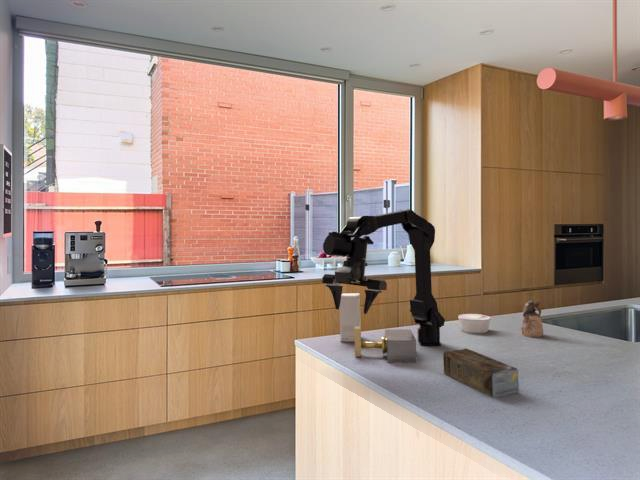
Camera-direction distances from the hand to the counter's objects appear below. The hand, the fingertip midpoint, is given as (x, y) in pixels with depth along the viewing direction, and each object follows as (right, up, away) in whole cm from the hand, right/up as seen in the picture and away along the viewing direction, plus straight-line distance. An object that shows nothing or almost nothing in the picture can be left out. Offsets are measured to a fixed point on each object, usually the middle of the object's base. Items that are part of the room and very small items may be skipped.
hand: (351, 311), depth 140 cm
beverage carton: (+30, -15, -22) cm, 40 cm away
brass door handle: (+9, -13, +4) cm, 17 cm away
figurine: (+65, -12, +27) cm, 71 cm away
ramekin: (+47, -13, +35) cm, 60 cm away
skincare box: (+1, -14, +26) cm, 29 cm away
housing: (+15, -14, +3) cm, 21 cm away
